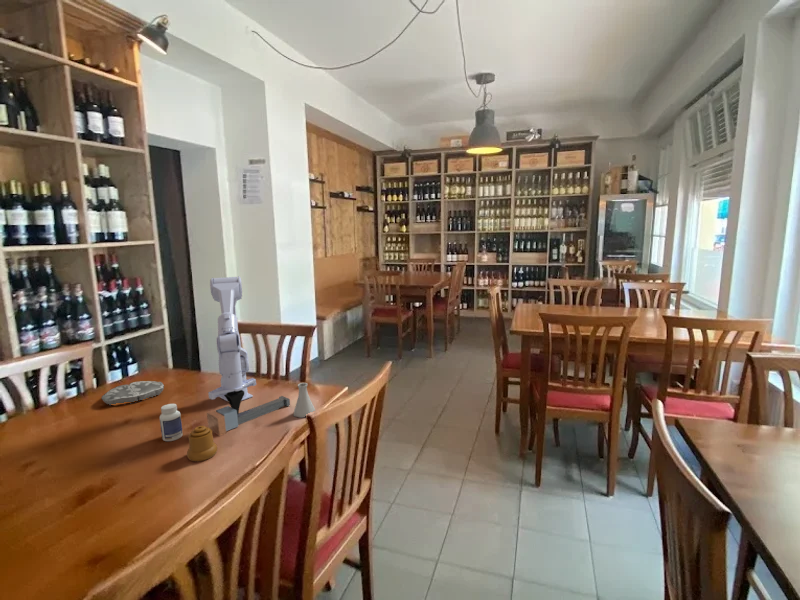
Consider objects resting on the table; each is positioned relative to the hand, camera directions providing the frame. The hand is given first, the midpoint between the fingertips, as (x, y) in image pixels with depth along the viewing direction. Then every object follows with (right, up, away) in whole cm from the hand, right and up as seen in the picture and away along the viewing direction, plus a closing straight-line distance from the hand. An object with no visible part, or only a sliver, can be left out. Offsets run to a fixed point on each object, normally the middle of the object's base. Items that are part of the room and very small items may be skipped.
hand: (235, 413), depth 131 cm
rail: (+4, -3, +5) cm, 7 cm away
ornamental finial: (-2, -7, -17) cm, 19 cm away
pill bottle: (-16, -5, -7) cm, 18 cm away
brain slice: (-48, -1, +25) cm, 54 cm away
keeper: (-2, -4, -2) cm, 4 cm away
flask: (+20, -2, +7) cm, 21 cm away
